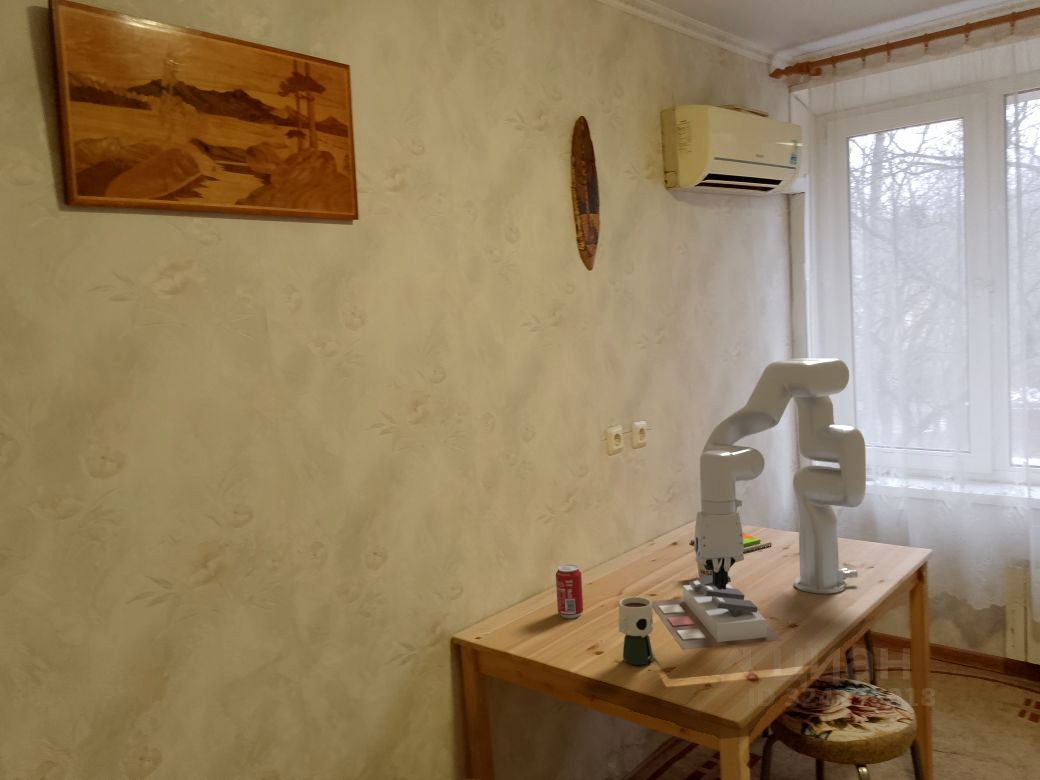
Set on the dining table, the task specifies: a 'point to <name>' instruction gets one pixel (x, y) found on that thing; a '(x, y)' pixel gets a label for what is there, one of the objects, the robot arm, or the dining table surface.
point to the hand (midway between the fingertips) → (720, 587)
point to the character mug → (636, 628)
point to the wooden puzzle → (750, 543)
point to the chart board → (694, 626)
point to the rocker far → (703, 582)
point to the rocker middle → (722, 592)
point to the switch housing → (724, 618)
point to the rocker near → (734, 605)
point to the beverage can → (569, 591)
